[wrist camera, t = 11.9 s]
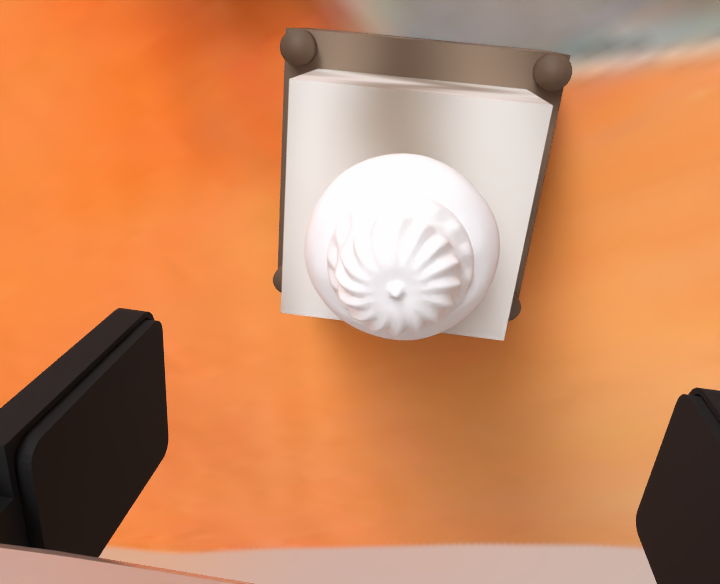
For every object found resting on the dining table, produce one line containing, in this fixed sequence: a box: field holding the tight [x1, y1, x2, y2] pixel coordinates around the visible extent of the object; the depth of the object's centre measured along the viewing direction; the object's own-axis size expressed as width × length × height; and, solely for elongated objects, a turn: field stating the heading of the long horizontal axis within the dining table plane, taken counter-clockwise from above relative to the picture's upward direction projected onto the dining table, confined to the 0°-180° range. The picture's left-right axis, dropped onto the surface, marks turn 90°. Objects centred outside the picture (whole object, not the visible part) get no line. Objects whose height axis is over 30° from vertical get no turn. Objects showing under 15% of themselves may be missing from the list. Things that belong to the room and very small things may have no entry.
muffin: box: [305, 153, 500, 340], centre depth 19 cm, size 6×6×7 cm
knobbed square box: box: [273, 28, 572, 341], centre depth 28 cm, size 12×12×12 cm
